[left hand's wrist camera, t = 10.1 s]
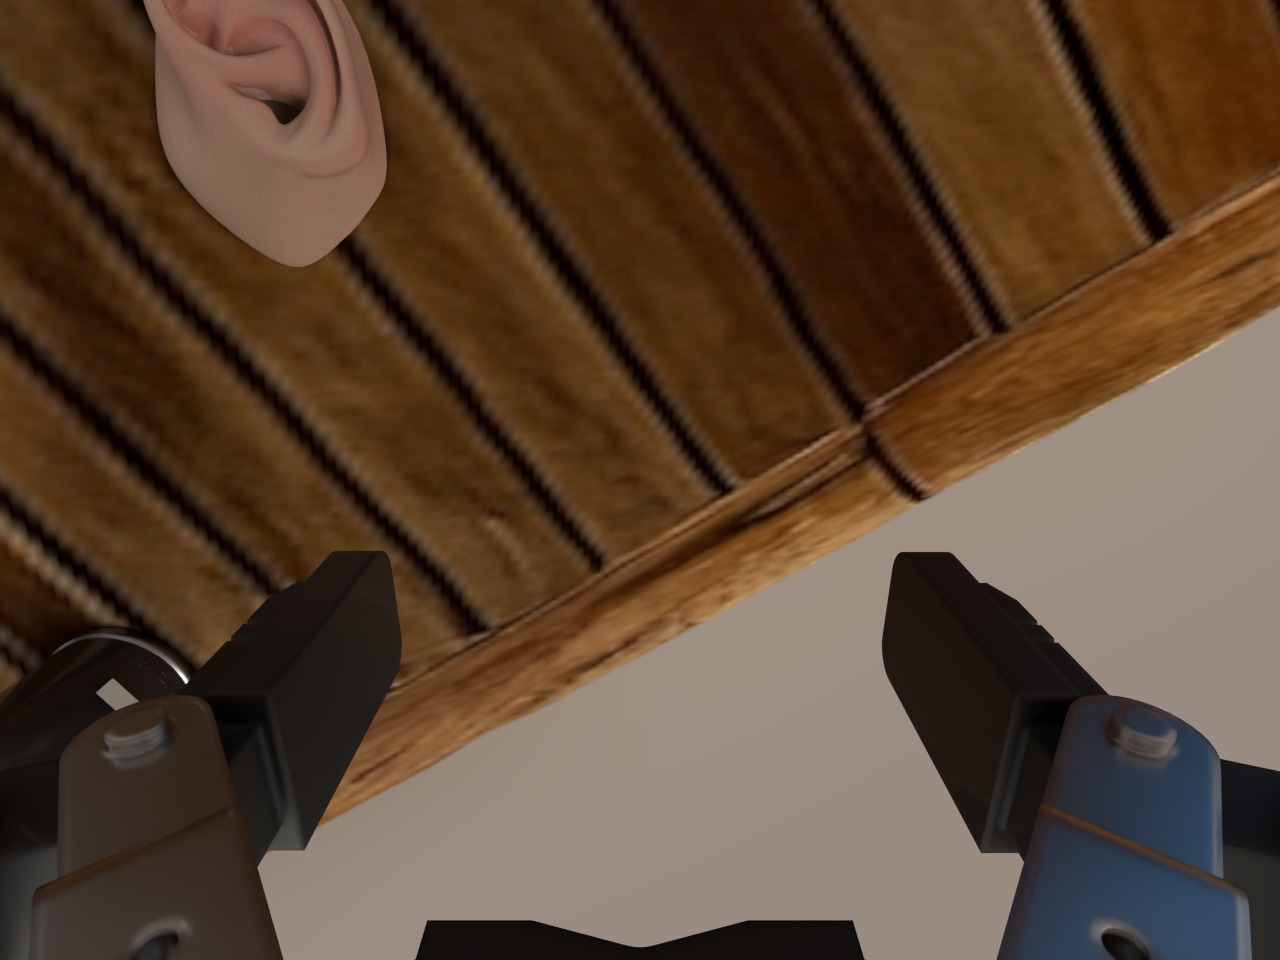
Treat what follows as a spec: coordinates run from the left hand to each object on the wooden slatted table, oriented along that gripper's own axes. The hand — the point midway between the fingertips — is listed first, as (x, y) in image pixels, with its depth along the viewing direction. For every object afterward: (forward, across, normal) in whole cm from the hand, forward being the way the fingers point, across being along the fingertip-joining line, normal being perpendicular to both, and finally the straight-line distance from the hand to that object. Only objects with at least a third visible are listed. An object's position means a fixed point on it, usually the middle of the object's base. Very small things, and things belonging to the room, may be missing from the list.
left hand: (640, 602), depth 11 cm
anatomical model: (+28, +17, -10) cm, 34 cm away
